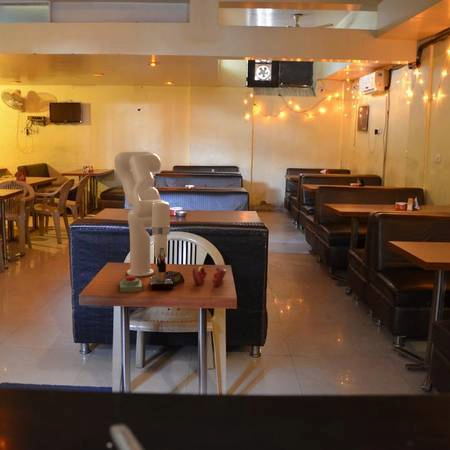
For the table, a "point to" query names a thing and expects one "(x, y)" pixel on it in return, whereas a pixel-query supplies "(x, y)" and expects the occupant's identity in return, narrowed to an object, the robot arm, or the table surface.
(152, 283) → the dial panel
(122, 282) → the button base
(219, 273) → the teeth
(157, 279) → the dial
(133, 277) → the lid button
